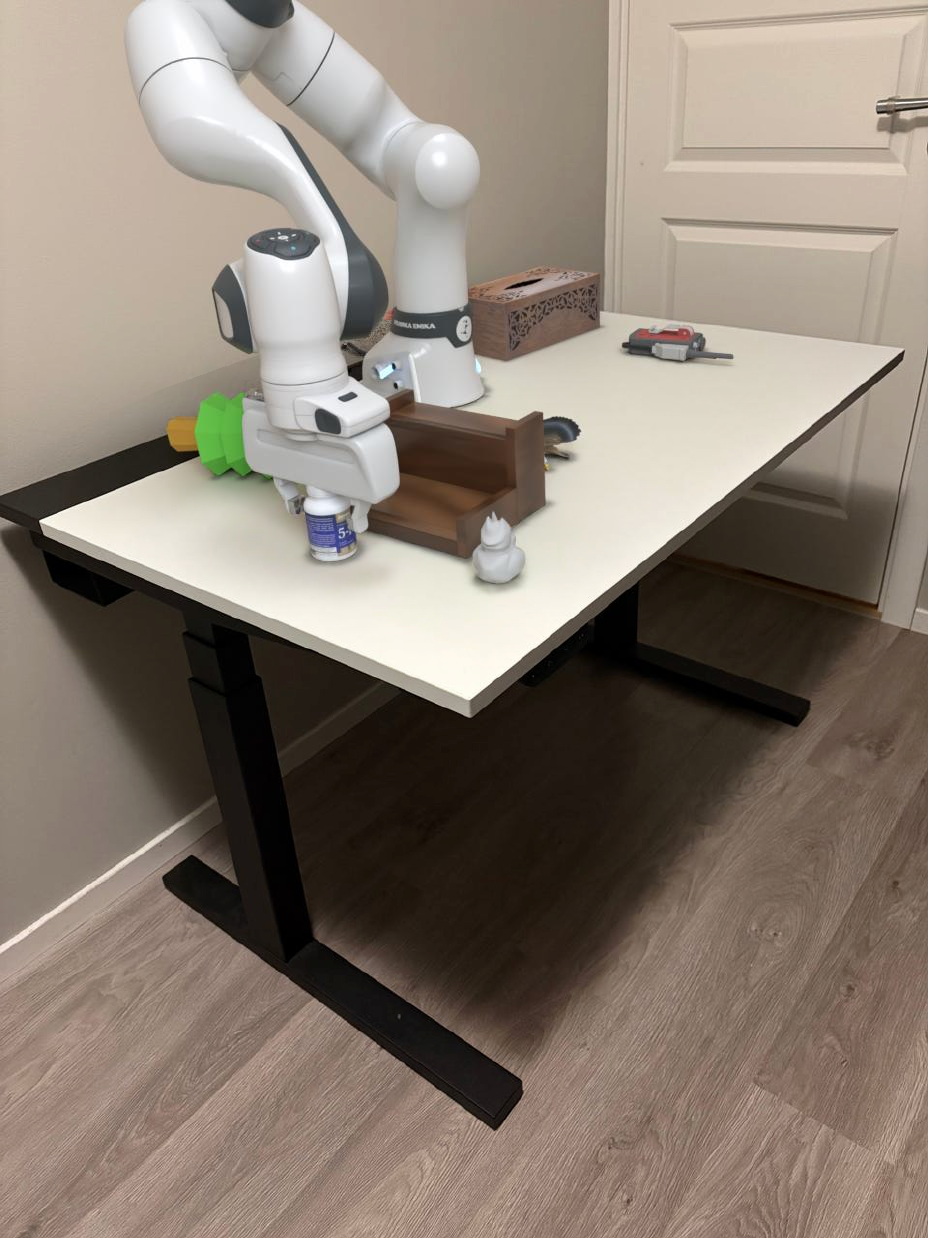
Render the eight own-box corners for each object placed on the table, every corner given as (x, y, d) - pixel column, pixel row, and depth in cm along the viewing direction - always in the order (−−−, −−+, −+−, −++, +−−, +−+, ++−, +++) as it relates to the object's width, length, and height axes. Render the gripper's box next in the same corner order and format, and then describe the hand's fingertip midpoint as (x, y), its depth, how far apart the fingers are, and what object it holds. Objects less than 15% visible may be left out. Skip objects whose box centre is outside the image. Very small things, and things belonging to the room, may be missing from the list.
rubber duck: (464, 587, 98) (458, 517, 94) (488, 558, 103) (484, 491, 99) (513, 595, 96) (509, 523, 92) (535, 565, 101) (533, 496, 97)
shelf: (467, 558, 103) (459, 459, 97) (331, 520, 114) (317, 429, 108) (545, 504, 114) (543, 411, 108) (415, 473, 125) (406, 388, 119)
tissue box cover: (506, 362, 166) (504, 303, 161) (450, 349, 175) (445, 293, 170) (599, 327, 181) (600, 273, 175) (543, 318, 190) (541, 265, 184)
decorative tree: (174, 374, 129) (377, 371, 120) (209, 437, 138) (401, 438, 128) (139, 432, 123) (350, 433, 113) (178, 494, 131) (377, 499, 122)
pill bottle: (349, 563, 104) (338, 489, 100) (305, 562, 105) (292, 488, 101) (363, 541, 109) (353, 469, 104) (320, 540, 110) (308, 468, 105)
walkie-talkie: (615, 356, 163) (730, 367, 154) (616, 330, 161) (732, 340, 152) (635, 343, 169) (746, 352, 160) (635, 317, 167) (749, 325, 158)
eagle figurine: (538, 476, 118) (592, 445, 121) (510, 425, 118) (565, 395, 121) (513, 489, 125) (565, 459, 129) (487, 441, 125) (539, 413, 128)
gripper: (218, 394, 101) (242, 512, 109) (359, 424, 90) (375, 553, 98) (262, 377, 106) (282, 492, 113) (401, 404, 95) (414, 529, 102)
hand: (326, 520), depth 105 cm, fingers open, 8 cm apart
